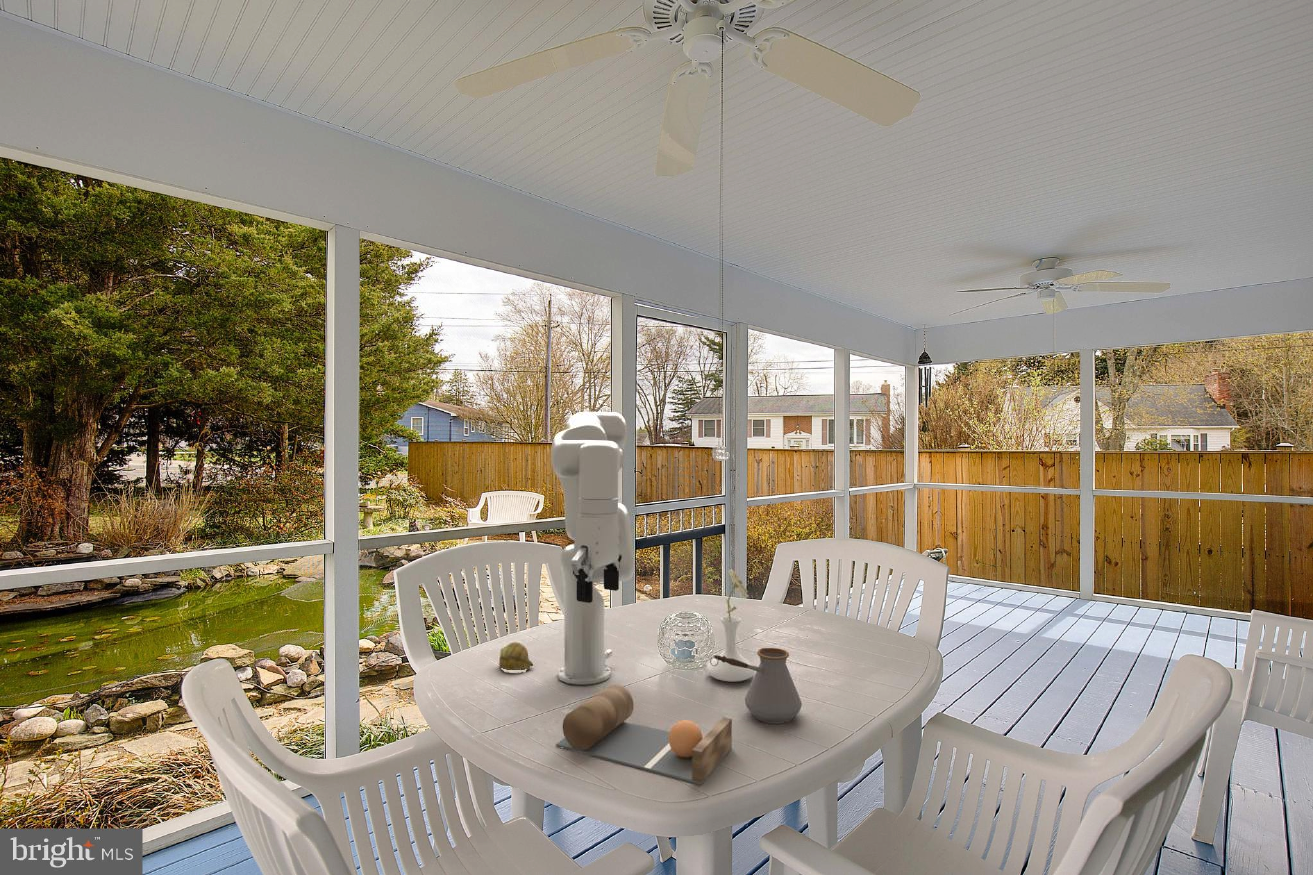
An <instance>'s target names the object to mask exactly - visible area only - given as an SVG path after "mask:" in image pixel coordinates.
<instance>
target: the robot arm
mask: <svg viewBox="0 0 1313 875" xmlns="http://www.w3.org/2000/svg"><path fill="white" fill-rule="evenodd" d="M627 437H628V426H627V422H626V420H625V418H624V417H623V415H622V414H620V413H618V412H614V411H583V412H582V411H581V412H577V413H575V414H573V415H572V416H571V417H569V419H568V421H567V423H566V428H565V430H562V431H560V432H558V433H557V434H556V435H555V436H554V438H553V440H552V444H551V447H550V448H551V449H550V457H551V465H552V470H553V471H554V472H553V473H555V475H556V476H557V477H558V480H559V482H560V484H561V487H562V490H563V501H564V502H563V503H564V525H565V531H566V534H567V536H568V538H569V539H570V540H572V541H574V543H571V544H569V545H567V546H566V547H564V548H563V549H562V551H561V554H560V568H561V576H562V584H563V603H564V604H563V606H564V608H563V610H564V612H563V613H564V617H563V621H564V623H563V626H564V628H563V630H564V633H563V634H564V635H563V636H564V637H563V639H564V640H563V644H564V646H563V648H564V654H563V657H564V659H563V661H564V662H563V664H564V665H563V666H561V667H560V668H559V669H558V671H557V678H558V680H559V681H561V682H563V681H564V682H563V683H565V682H566V684H569V683H570V685H578V686H581V685H582V686H583V685H584V686H586V685H593V684H599V683H602V682H604V681H606V680H608V679H609V678H610V677H611V674H612V669H611V667H610V666H608V665H607V664H606V661H607V659H609V658H610V657H612V656H613V651H612V649H609V648H608V649H605V600H604V597H603V595H602V594H601V592H600V591H599V590H598V588H596V587H595V585H594V584H599V583H603V589H604V590H606V591H607V590H608V591H613V592H614V591H615V592H616V591H618V590H619V589H620V586H619V585H620V582H626V581H628V580H630V579H631V578H632V577H633V576H634V572H635V556H634V555H635V554H634V544H633V537H632V536H633V535H632V527H631V518H630V513H629V511H628V508H627V506H626V505H624V504H623V503H620V502H619V472H620V470H621V469H622V467H623V459H624V458H623V454H624V451H625V446H626V444H627Z"/></svg>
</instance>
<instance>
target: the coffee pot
mask: <svg viewBox="0 0 1313 875" xmlns="http://www.w3.org/2000/svg"><path fill="white" fill-rule="evenodd" d="M756 654H757V655H758V657H759V661H760V663H759V665H758V666H756V665H753V664H752V665H749V664H747V663H744V662H741V661H738V660H736V659H733V658H726V657H725V656H723V657H721V656H719V655H720V654H719V655H718V654H717V655H713V656H711V657H710V661H709V663H711V661H712V660H713V658H714V659H717V660H718V661H719V660H721V661H722V662H723V663H724V662H726V663H728V664H730V665H733V666H738V667H743V668H748V669H751V670H754V671H755V673H754V675H753V679H752V680H751V684H750V686H749V688H748V690H747V692H746V695H745V697H744V702H745V706H746V709H748V711H749V712H750V713H751V714H752V715H753V716H754V717H755V719H757V720H759V721H760V722H764V723H767V724H785V723H788V722H790V721H792V719H793V718H794V717H795V716H796V715H798V714H799V713H800V712H801V711H800V710H801V708H802V705H803V704H802V701H801V697H800V695H799V692H798V690H797V688H796V686H795V682H794V680H793V678H792V674H791V673H790V670H789V668H788V666H787V659H788V658H789V657H790V653H789V651H787V650H785V649H781V648H776V647H762V648H760V649H758V650H757V652H756ZM718 661H717V664H718ZM717 664H716V665H717ZM711 665H712V663H711ZM716 665H712V666H716ZM784 722H785V723H784Z"/></svg>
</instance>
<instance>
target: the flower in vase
mask: <svg viewBox="0 0 1313 875" xmlns="http://www.w3.org/2000/svg"><path fill="white" fill-rule="evenodd" d="M728 574H729V577H730V579H731V581H732V583H733V587H732V588H731V590H730V593H729V595H728V598H727V599H726V600H725V601H726V604H727V611H726V613H728V615H727V616H725V615H724V616H722V617H720V618H719V621H721V623H722V625H723V628H724V632H725V647H724V649H723V651H722V652H721V653H720V654H719V656H721V657H723V656H725V657H726V658H733V659H736V660H738V661H741V662H744V663H747V664H749V665H753V664H752V663H751V662H750V661H749V660H748V659H747V658H746V657H744V656H743V655H741V653H740V652H739V651H738V649H737V647H736V635H737V629H738V626H739V624H740V623H741V622H742V618H740V617H738V616H734V615H731V612H734V611H735V610H736V609H738V608H737V607H736V606H733V607H731V605H730V599H731V596H732V594H733V591H734V590H735V588H736V589H737V591H738V592H739V593H740V595H741V596H742V597H744V598H745V599H747V598H749V596H750V595H748V590H747V589H746V588H745V586H744V584H743V583H744V582H743V580H742V579H741V578H739V576H738V574H737V572H736V571H734V570H733V569H732V568H731V569H730V570H728ZM717 661H718V660H717V659H715V658H714V659H713V658H712V659H711V663H712V665H716V664H717ZM711 663H710V662H709V663H708V664H707V667H706V672H707V673H708V675H709V676H710V677H712V678H713V679H716V680H718V681H719V680H720V681H722V682H723V681H724V682H731V683H733V682H734V683H735V682H742V681H746V680H749V679H751V678H752V677H754V676H755V674H756V671H754V670H751V669H748V668H743V667H738V666H733V665H730V664H728V663H726V662H724V663H723V662H722V661H721V660H719V661H718V664H717V665H716V666H712V665H711Z"/></svg>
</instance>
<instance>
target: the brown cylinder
mask: <svg viewBox="0 0 1313 875" xmlns="http://www.w3.org/2000/svg"><path fill="white" fill-rule="evenodd" d="M633 711H634V699H633V697H632V695H631V693H630V691H629V690H628V688H626V687H624V686H622V685H620V684H611V685H609V686H608V687H607V688H605V689H603V690H602V691H599V692H598V693H597V694H595V695H594V696H592V697H591V698H589V699H588V700H586V701H585V702H583V703H581V705H579V706H576V707H575V708H574V709H572V710H571V711H569V713H566V715H565V716H564V718H563V720H562V733H563V736H564V738H566V740H567V742H568V743H569V744H570V745H571V746H572V747H573V748H575V749H577V750H582V751H583V750H587V749H589V748H590V747H591V746H593V745H594V744H595V743H596V742H598V741H599V740H600V739H602V738H603V737H604V736H606V735H607V734H608V733H609V732H611V731H612V730H613V729H615V728H616V727H617V726H619V725H620V724H621V723H622V722H626V720H627V719H629V718H630V717H631V716H632V714H633Z"/></svg>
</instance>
